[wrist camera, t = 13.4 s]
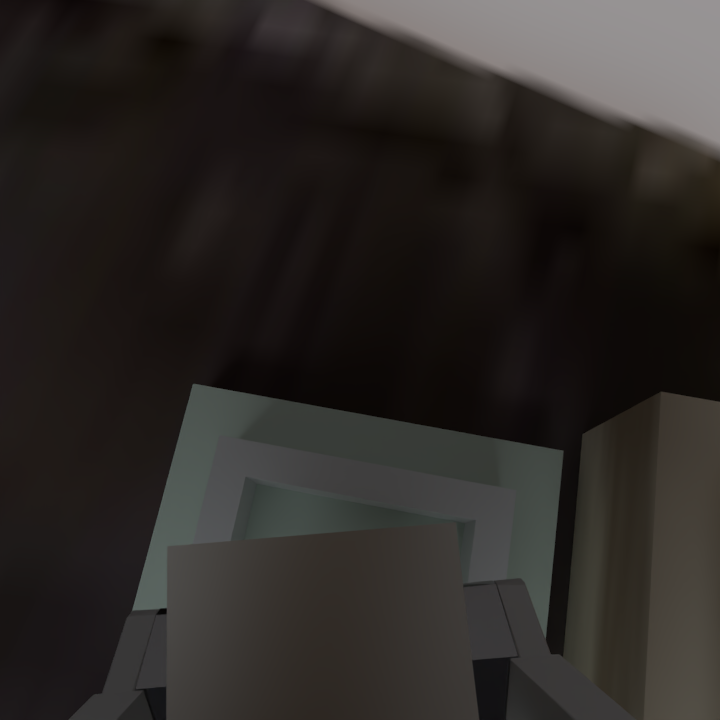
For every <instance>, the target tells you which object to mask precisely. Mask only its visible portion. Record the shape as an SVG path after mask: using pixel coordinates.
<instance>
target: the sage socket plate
mask: <svg viewBox="0 0 720 720" xmlns="http://www.w3.org/2000/svg"><path fill="white" fill-rule="evenodd" d="M563 452H564V451H561V450H556V449H550V448H545V447H539V446H534V445H528V444H523V443H517V442H512V441H506V440H501V439H495V438H490V437H484V436H479V435H473V434H468V433H462V432H457V431H451V430H446V429H440V428H435V427H429V426H424V425H418V424H413V423H407V422H402V421H396V420H391V419H385V418H380V417H374V416H369V415H363V414H358V413H352V412H347V411H341V410H336V409H330V408H325V407H319V406H314V405H308V404H303V403H297V402H292V401H286V400H281V399H275V398H270V397H264V396H259V395H253V394H248V393H242V392H236V391H231V390H225V389H220V388H214V387H209V386H203V385H198V384H193V386H192V390H191V394H190V397H189V401H188V405H187V408H186V412H185V416H184V420H183V423H182V427H181V431H180V435H179V438H178V442H177V446H176V450H175V453H174V457H173V461H172V464H171V468H170V472H169V476H168V479H167V483H166V487H165V491H164V494H163V498H162V502H161V506H160V509H159V513H158V517H157V521H156V524H155V528H154V532H153V535H152V539H151V543H150V547H149V550H148V554H147V558H146V562H145V565H144V569H143V573H142V577H141V580H140V584H139V588H138V591H137V595H136V599H135V603H134V606H133V610H132V611H134V610H149V609H160V608H167V546H176V545H188V544H200V543H212V542H224V541H236V540H248V539H260V538H273V537H285V536H297V535H309V534H321V533H333V532H345V531H357V530H369V529H381V528H393V527H405V526H418V525H430V524H442V523H454V522H456V529H457V538H458V546H459V554H460V563H461V571H462V580H463V583H470V582H480V581H491V580H492V581H493V582H494V580H506V579H517V578H521V579H522V580H523V581H524V582H525V584H526V587H527V590H528V592H529V595H530V598H531V601H532V603H533V606H534V609H535V612H536V614H537V617H538V620H539V623H540V626H541V628H542V631H543V634H544V637H545V639H546V631H547V621H548V610H549V600H550V589H551V578H552V568H553V557H554V547H555V536H556V526H557V515H558V505H559V494H560V484H561V473H562V463H563Z"/></svg>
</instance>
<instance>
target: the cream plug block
mask: <svg viewBox="0 0 720 720" xmlns="http://www.w3.org/2000/svg"><path fill="white" fill-rule="evenodd" d="M166 720H479V714H478V706H477V697H476V689H475V680H474V672H473V664H472V655H471V647H470V638H469V630H468V622H467V613H466V605H465V596H464V588H463V580H462V571H461V563H460V554H459V546H458V538H457V529H456V522H454V523H442V524H430V525H418V526H405V527H393V528H381V529H369V530H357V531H345V532H333V533H321V534H309V535H297V536H285V537H273V538H260V539H248V540H236V541H224V542H212V543H200V544H188V545H176V546H167V673H166Z"/></svg>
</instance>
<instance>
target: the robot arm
mask: <svg viewBox="0 0 720 720" xmlns="http://www.w3.org/2000/svg"><path fill="white" fill-rule="evenodd" d="M463 588H464V596H465V605H466V613H467V622H468V630H469V638H470V647H471V655H472V664H473V672H474V680H475V689H476V697H477V706H478V714H479V720H636V719H635V718H634V717H633V716H631V715H630V714H629V713H628V712H627V711H626V710H624V709H623V708H622V707H621V706H620V705H619V704H617V703H616V702H615V701H614V700H613V699H611V698H610V697H609V696H608V695H607V694H606V693H604V692H603V691H602V690H601V689H600V688H598V687H597V686H596V685H595V684H594V683H593V682H591V681H590V680H589V679H588V678H587V677H586V676H584V675H583V674H582V673H581V672H580V671H578V670H577V669H576V668H575V667H574V666H573V665H571V664H570V663H569V662H568V661H567V660H566V659H564V658H563V657H562V656H561V655H560V654H555V655H551V653H550V650H549V648H548V645H547V642H546V639H545V637H544V634H543V631H542V628H541V626H540V623H539V620H538V617H537V614H536V612H535V609H534V606H533V603H532V601H531V598H530V595H529V592H528V590H527V587H526V584H525V582H524V581H523V580H522V579H521V578H517V579H506V580H494V582H493V581H492V580H491V581H480V582H470V583H463ZM166 673H167V608H160V609H149V610H134V611H132V612H131V613H130V615H129V616H128V617H127V619H126V622H125V625H124V628H123V631H122V634H121V637H120V640H119V643H118V646H117V649H116V652H115V655H114V658H113V661H112V664H111V668H110V671H109V674H108V677H107V680H106V683H105V686H104V689H103V692H102V694H94V695H93V696H92V697H91V698H90V699H89V700H88V701H87V702H86V703H85V704H84V705H83V706H82V707H81V708H80V709H79V710H78V711H77V712H76V713H75V714H74V715H73V716H72V717H71V718H70V719H69V720H166Z"/></svg>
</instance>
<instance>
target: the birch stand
mask: <svg viewBox="0 0 720 720" xmlns="http://www.w3.org/2000/svg"><path fill="white" fill-rule="evenodd" d="M563 658H564V659H566V660H567V661H568V662H569V663H570V664H571V665H573V666H574V667H575V668H576V669H577V670H578V671H580V672H581V673H582V674H583V675H584V676H586V677H587V678H588V679H589V680H590V681H591V682H593V683H594V684H595V685H596V686H597V687H598V688H600V689H601V690H602V691H603V692H604V693H606V694H607V695H608V696H609V697H610V698H611V699H613V700H614V701H615V702H616V703H617V704H619V705H620V706H621V707H622V708H623V709H624V710H626V711H627V712H628V713H629V714H630V715H631V716H633V717H634V718H635V719H636V720H720V402H717V401H712V400H706V399H700V398H695V397H689V396H683V395H678V394H672V393H666V392H659V393H658V394H656V395H654V396H652V397H650V398H648V399H646V400H645V401H643V402H641V403H639V404H637V405H635V406H634V407H632V408H630V409H628V410H626V411H624V412H622V413H621V414H619V415H617V416H615V417H613V418H611V419H609V420H608V421H606V422H604V423H602V424H600V425H598V426H597V427H595V428H593V429H591V430H589V431H587V432H585V433H584V434H582V446H581V457H580V469H579V480H578V492H577V503H576V515H575V526H574V538H573V549H572V560H571V572H570V583H569V595H568V606H567V618H566V629H565V641H564V652H563Z"/></svg>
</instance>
